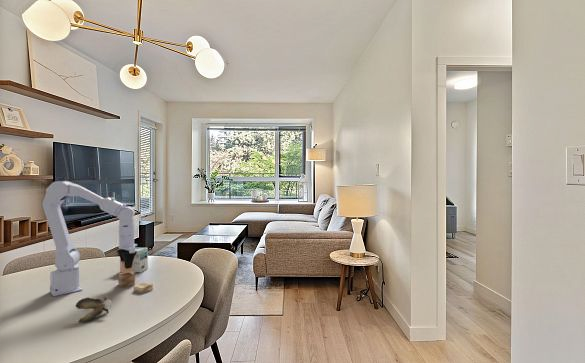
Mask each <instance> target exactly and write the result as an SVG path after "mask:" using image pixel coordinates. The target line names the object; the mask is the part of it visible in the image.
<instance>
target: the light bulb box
mask: <svg viewBox="0 0 585 363" xmlns="http://www.w3.org/2000/svg"><path fill="white" fill-rule="evenodd" d="M148 249H149V248H148V247H135V251H137V253H136V255H135V257H134V260H133V261H134V271H132V272H133V273H136V272H140V273H142V272H145V271H146V270H148V269H149V261H148V260H149V258H148V257H149V255H148V254H149V252H148ZM120 262H121V259H120V258H119V263H120ZM119 271H120V270H119ZM119 273H122V272H121V271H120V272H119Z"/></svg>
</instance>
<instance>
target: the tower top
mask: <svg viewBox="0 0 585 363" xmlns="http://www.w3.org/2000/svg"><path fill="white" fill-rule="evenodd" d="M118 279H119V280H120V281H121V282H126V281H131V280H135V281H136V274H135V272H132V271H131V272H126V273H123V272H119V273H118Z"/></svg>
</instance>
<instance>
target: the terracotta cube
mask: <svg viewBox="0 0 585 363" xmlns="http://www.w3.org/2000/svg"><path fill="white" fill-rule="evenodd" d="M119 267H120V268H119V269H120V270H119V271H121V272H120V273H126V272H131V271H134V261H133V264H132V268H128V269H126V268H125V263H124V261H121V262H120V261H119Z"/></svg>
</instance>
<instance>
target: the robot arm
mask: <svg viewBox="0 0 585 363" xmlns="http://www.w3.org/2000/svg"><path fill="white" fill-rule="evenodd" d="M70 197H80V198H83V199H85V200H87V201H89V202H90V203H93V204H96V205H98V207H99V208H100V210H101V211H103V212H104V213H108V214H109V215H111V216H114V217H117V219H118V220H119V221H118V222H119V224H118V249H116V252H117V254H118V256H119V260H120V259H121V261H124V263H125V268H126V269H128V268H132V264H133V260H134V257H135V255H136V253H137V251H135V248H136V247H137V246H138V243H135V223H134V222H135V220H134V216H135V214H136V211H135V209H134V208H133V207H132V206H131V205H127V204H126V203H121V202H119V201H117V200H116V198H114V197H110V196H108V197H103V196H100V195H98V194H97V193H95V192H93V191H91V190H89V189H87V188H86V187H83V186H81V185H80V184H77V183H74V182H72V181H69V180H63V181H61V180H60V181H57V180H56V181H54V182H52V183H51V184H49V186H47V188H46V189H45V195H44V198H43V201H42V208H43V211H44V214H45V217H46V221H47V224H48V227H49V231H50V232H51V236H52V239H53V242H54V245H55V246H54V247H55V250H54V256H55V260H54V266H55V267H56V270H52V271H50V273H49V292H50V293H51V296H52V297H56V296H60V295H65V294H69V293H75V292H80V291H83V288H82V287H81V285H80V264H79V262H80V260H81V257H82V256H81V253H80V252H79V251H78V250H77V248H76V245H75V244H74V243H73V242H72V240H71V236H70V233H69V231H68V227H67V224H66V220H65V217H64V215H63V210H62V208H61V205H62V204H63V203H64V202H65V200H66V199H68V198H70Z"/></svg>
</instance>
